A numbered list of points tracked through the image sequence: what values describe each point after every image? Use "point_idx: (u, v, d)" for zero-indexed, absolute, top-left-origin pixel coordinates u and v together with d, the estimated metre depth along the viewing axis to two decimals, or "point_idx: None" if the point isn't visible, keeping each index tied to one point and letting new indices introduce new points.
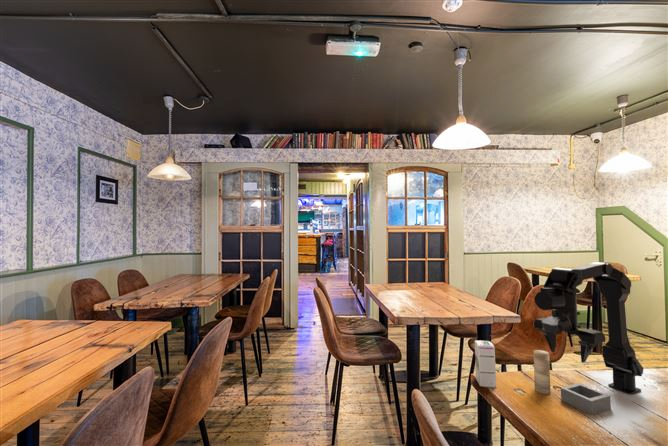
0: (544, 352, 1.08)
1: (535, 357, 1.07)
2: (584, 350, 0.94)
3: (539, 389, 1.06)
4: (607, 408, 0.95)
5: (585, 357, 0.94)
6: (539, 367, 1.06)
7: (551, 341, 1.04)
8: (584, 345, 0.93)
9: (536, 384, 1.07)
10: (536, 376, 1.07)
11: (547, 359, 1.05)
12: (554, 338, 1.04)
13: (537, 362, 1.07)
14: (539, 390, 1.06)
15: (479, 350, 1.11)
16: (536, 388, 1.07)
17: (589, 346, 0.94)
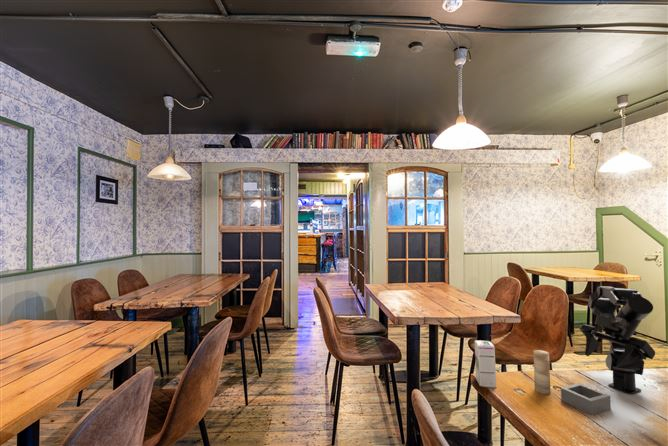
0: (544, 352, 1.08)
1: (535, 357, 1.07)
2: (626, 354, 0.94)
3: (539, 389, 1.06)
4: (607, 408, 0.95)
5: (622, 362, 0.94)
6: (539, 367, 1.06)
7: (590, 346, 1.04)
8: (630, 348, 0.94)
9: (536, 385, 1.07)
10: (536, 376, 1.07)
11: (547, 359, 1.05)
12: (594, 347, 1.05)
13: (537, 362, 1.07)
14: (539, 390, 1.06)
15: (479, 350, 1.11)
16: (536, 388, 1.07)
17: (632, 357, 0.94)
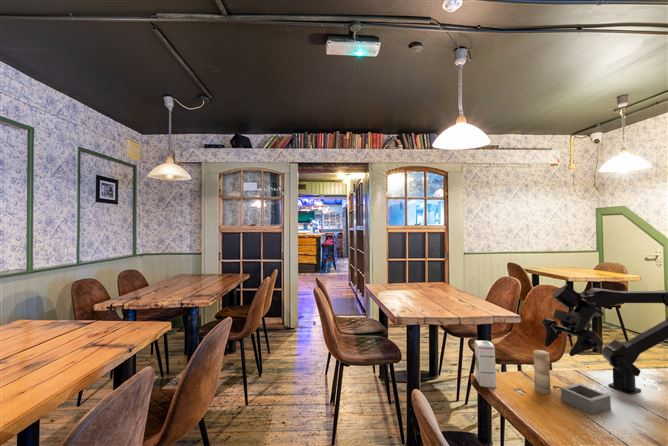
0: (544, 352, 1.08)
1: (535, 357, 1.07)
2: (578, 344, 1.05)
3: (539, 389, 1.06)
4: (607, 408, 0.95)
5: (574, 352, 1.05)
6: (539, 367, 1.06)
7: (549, 337, 1.15)
8: (581, 338, 1.04)
9: (536, 384, 1.07)
10: (536, 376, 1.07)
11: (547, 359, 1.05)
12: (553, 339, 1.15)
13: (537, 362, 1.07)
14: (539, 390, 1.06)
15: (479, 350, 1.11)
16: (536, 388, 1.07)
17: (583, 346, 1.05)
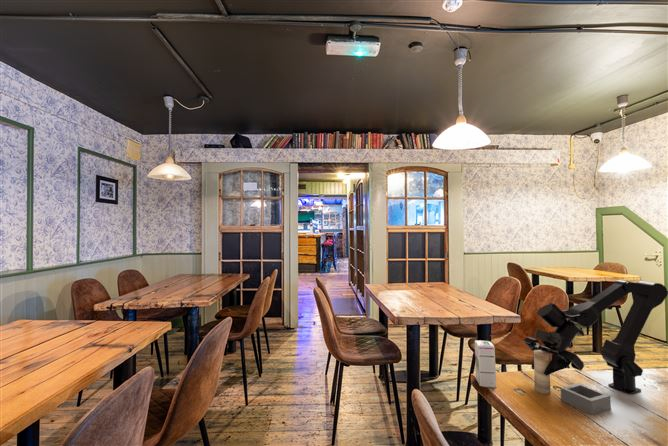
0: (544, 352, 1.08)
1: (535, 357, 1.07)
2: (552, 363, 1.04)
3: (539, 389, 1.06)
4: (607, 408, 0.95)
5: (549, 371, 1.04)
6: (539, 367, 1.06)
7: None
8: (555, 358, 1.04)
9: (536, 384, 1.07)
10: (536, 376, 1.07)
11: (547, 359, 1.05)
12: None
13: (537, 362, 1.07)
14: (539, 390, 1.06)
15: (479, 350, 1.11)
16: (536, 388, 1.07)
17: (558, 366, 1.05)
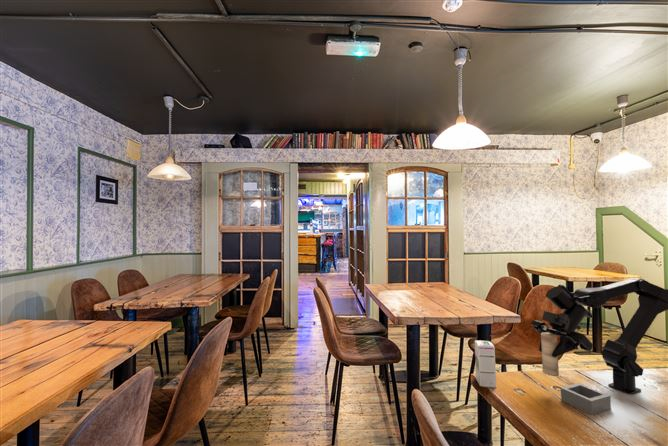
0: (552, 334, 1.06)
1: (543, 339, 1.06)
2: (560, 345, 1.03)
3: (547, 371, 1.05)
4: (607, 408, 0.95)
5: (557, 353, 1.03)
6: (546, 349, 1.05)
7: None
8: (564, 339, 1.02)
9: (544, 367, 1.05)
10: (544, 358, 1.06)
11: (555, 341, 1.04)
12: None
13: (545, 344, 1.05)
14: (547, 372, 1.04)
15: (479, 350, 1.11)
16: (544, 370, 1.06)
17: (566, 347, 1.03)
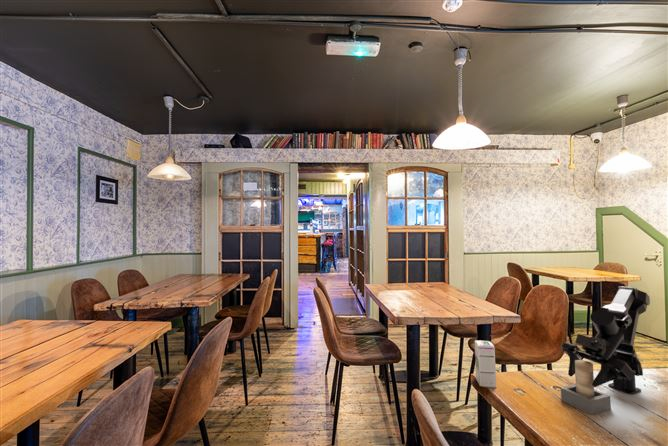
0: (587, 362, 0.99)
1: (577, 368, 0.99)
2: (602, 374, 0.94)
3: None
4: (607, 408, 0.95)
5: (598, 382, 0.94)
6: (582, 379, 0.97)
7: (573, 366, 1.03)
8: (606, 367, 0.94)
9: None
10: (578, 389, 0.98)
11: (591, 370, 0.97)
12: None
13: (580, 374, 0.98)
14: None
15: (479, 350, 1.11)
16: None
17: (608, 376, 0.95)
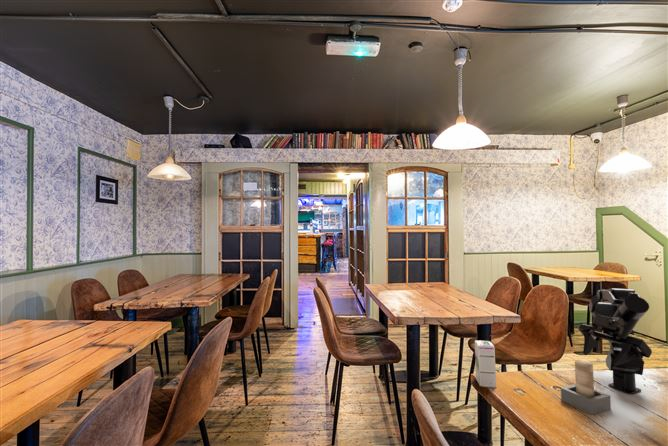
0: (587, 362, 0.99)
1: (577, 368, 0.99)
2: (623, 353, 0.96)
3: None
4: (607, 408, 0.95)
5: (619, 361, 0.96)
6: (582, 379, 0.97)
7: (588, 345, 1.06)
8: (627, 346, 0.95)
9: None
10: (578, 389, 0.98)
11: (591, 370, 0.97)
12: (592, 346, 1.06)
13: (580, 374, 0.98)
14: None
15: (479, 350, 1.11)
16: None
17: (629, 355, 0.96)
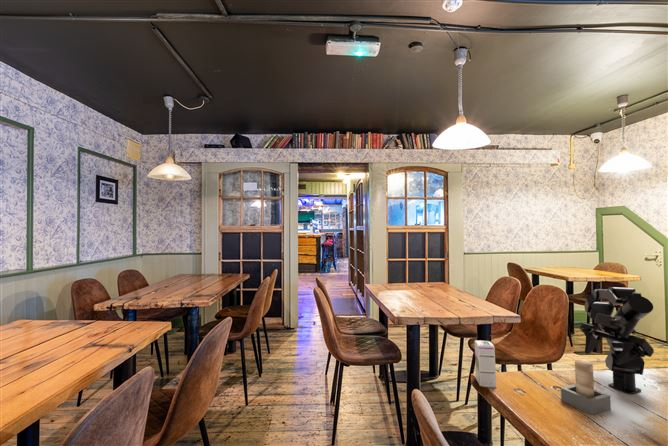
0: (587, 362, 0.99)
1: (577, 368, 0.99)
2: (625, 352, 0.96)
3: None
4: (607, 408, 0.95)
5: (621, 360, 0.96)
6: (582, 379, 0.97)
7: (590, 344, 1.06)
8: (629, 346, 0.95)
9: None
10: (578, 389, 0.98)
11: (591, 370, 0.97)
12: (593, 345, 1.06)
13: (580, 374, 0.98)
14: None
15: (479, 350, 1.11)
16: None
17: (631, 354, 0.96)
